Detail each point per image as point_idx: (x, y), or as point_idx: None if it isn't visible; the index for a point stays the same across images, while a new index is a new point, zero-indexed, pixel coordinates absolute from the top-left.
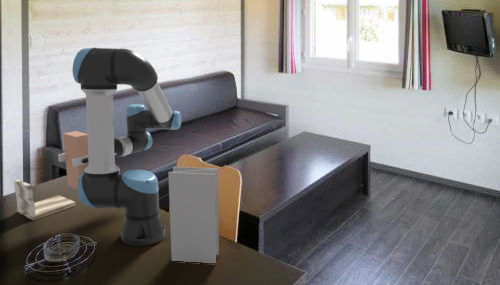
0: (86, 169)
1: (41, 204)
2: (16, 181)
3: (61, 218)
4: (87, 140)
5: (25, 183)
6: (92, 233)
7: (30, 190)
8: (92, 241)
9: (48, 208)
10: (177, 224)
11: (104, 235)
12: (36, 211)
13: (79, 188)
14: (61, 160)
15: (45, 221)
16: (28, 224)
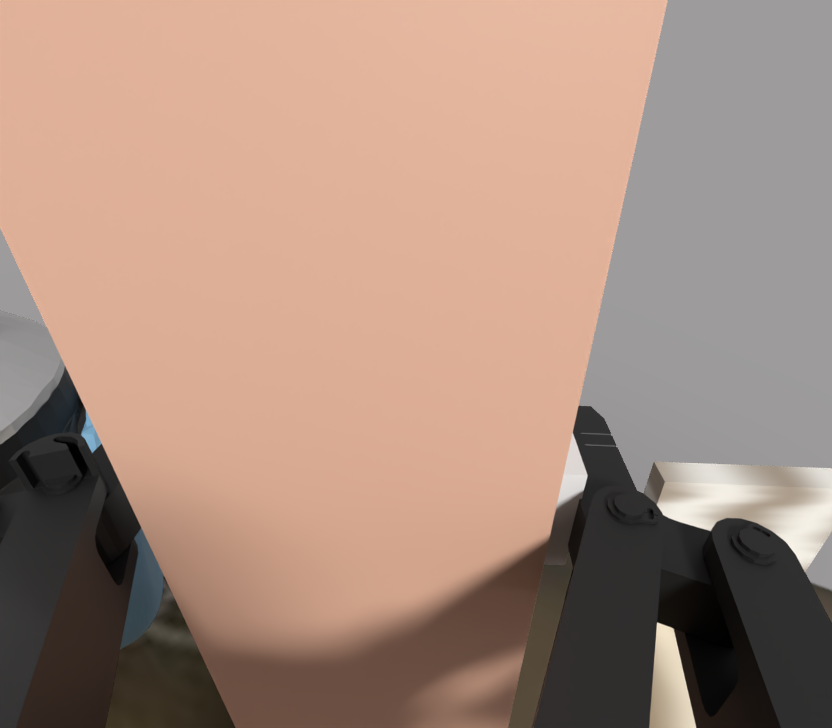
0: (4, 312)
1: None
2: (802, 467)
3: (517, 715)
4: (13, 167)
5: (725, 476)
6: (200, 687)
7: (650, 494)
8: (155, 625)
9: (684, 720)
10: None
11: (113, 712)
12: (670, 641)
13: None
14: None
15: (542, 631)
16: (563, 566)
